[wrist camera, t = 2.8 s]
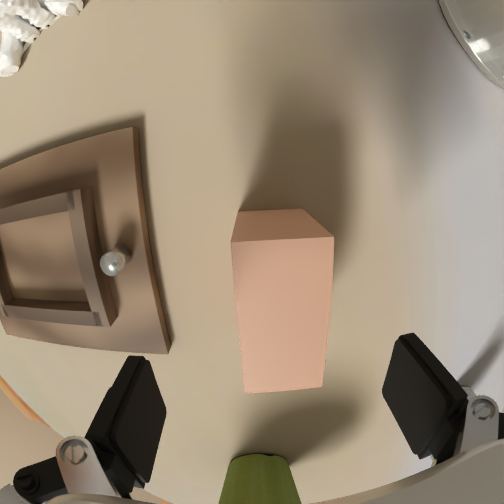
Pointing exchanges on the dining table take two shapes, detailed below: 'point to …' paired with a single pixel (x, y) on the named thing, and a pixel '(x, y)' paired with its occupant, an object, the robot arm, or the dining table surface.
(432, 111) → the dining table surface
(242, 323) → the key block
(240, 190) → the dining table surface
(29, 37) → the seated beast figurine
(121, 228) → the board
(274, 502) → the plant pot
